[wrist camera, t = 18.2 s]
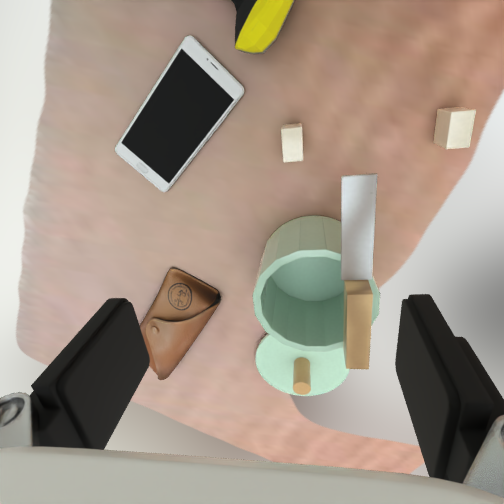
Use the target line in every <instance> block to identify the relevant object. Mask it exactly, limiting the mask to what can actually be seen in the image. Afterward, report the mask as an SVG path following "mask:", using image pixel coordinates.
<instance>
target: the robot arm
mask: <svg viewBox="0 0 504 504" xmlns="http://www.w3.org/2000/svg"><path fill="white" fill-rule="evenodd" d="M149 363H150V357H149V353H148V350H147V347H146V344H145V341H144V338H143V335H142V332H141V329H140V326H139V323H138V320H137V317H136V314H135V311H134V308H133V305H132V303H131V302H128V300H127V299H125V298H111V299H108V300H107V301H106V302H105V303H104V304H103V305H102V307H101V308H100V309H99V310H98V311H97V312H96V313H95V314H94V316H93V317H92V318H91V319H90V320H89V321H88V322H87V323H86V325H85V326H84V327H83V328H82V329H81V330H80V331H79V332H78V334H77V335H76V336H75V337H74V338H73V339H72V340H71V341H70V343H69V344H68V345H67V346H66V347H65V348H64V349H63V350H62V351H61V353H60V354H59V355H58V356H57V357H56V358H55V359H54V360H53V362H52V363H51V364H50V365H49V366H48V367H47V368H46V369H45V371H44V372H43V373H42V374H41V375H40V376H39V377H38V378H37V380H36V381H35V382H34V383H33V384H32V385H31V387H32V388H33V390H34V391H33V392H32V393H31V395H30V396H29V395H28V394H26V393H21V392H18V393H12V394H9V395H6V396H4V397H1V398H0V504H504V399H503V398H502V396H501V394H500V393H499V391H498V390H497V388H496V386H495V385H494V383H493V382H492V380H491V378H490V377H489V375H488V374H487V372H486V370H485V369H484V367H483V366H482V364H481V362H480V361H479V359H478V358H477V356H476V354H475V353H474V351H473V350H472V348H471V346H470V345H469V343H468V342H467V340H466V339H465V338H463V337H455V336H454V335H453V333H452V331H451V329H450V328H449V326H448V325H447V322H446V321H445V319H444V317H443V316H442V314H441V312H440V311H439V309H438V307H437V305H436V304H435V302H434V300H433V299H432V297H431V296H430V295H429V294H420V295H409V297H408V299H403V301H402V307H401V316H400V326H399V334H398V343H397V352H396V362H395V365H396V372H397V376H398V379H399V382H400V385H401V388H402V391H403V395H404V398H405V401H406V404H407V407H408V410H409V413H410V416H411V420H412V423H413V426H414V430H415V433H416V436H417V439H418V442H419V446H420V449H421V452H422V455H423V458H424V461H425V465H426V468H427V471H428V474H429V476H430V477H425V476H418V475H411V474H404V473H394V472H383V471H373V470H363V469H352V468H342V467H329V466H317V465H304V464H292V463H279V462H266V461H254V460H240V459H227V458H213V457H199V456H186V455H185V456H184V455H171V454H157V453H144V452H128V451H113V450H104V448H105V446H106V445H107V443H108V441H109V439H110V437H111V435H112V433H113V432H114V429H115V428H116V426H117V424H118V422H119V420H120V419H121V417H122V415H123V413H124V411H125V409H126V408H127V406H128V404H129V402H130V400H131V398H132V396H133V395H134V393H135V391H136V389H137V387H138V385H139V384H140V382H141V380H142V378H143V376H144V374H145V372H146V371H147V369H148V367H149Z"/></svg>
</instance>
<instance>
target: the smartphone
mask: <svg viewBox="0 0 504 504" xmlns="http://www.w3.org/2000/svg"><path fill="white" fill-rule="evenodd" d="M243 94H244V87H243V86H242V85H241V84H240V83H239V82H238V81H237V80H236V79H235V78H234V77H233V76H232V75H231V74H230V73H229V72H228V71H227V70H226V69H225V68H224V67H223V66H222V65H221V64H220V63H219V62H218V61H217V60H216V59H215V58H214V57H213V56H212V55H211V54H210V53H209V52H208V51H207V50H206V49H205V48H204V47H203V46H202V45H201V44H200V43H199V42H198V41H197V40H196V39H195V38H194V37H193V36H191V35H188V36H186V37H185V38H184V40H183V41H182V43H181V45H180V46H179V48H178V49H177V51H176V52H175V54H174V56H173V57H172V59H171V60H170V62H169V63H168V65H167V67H166V68H165V70H164V71H163V73H162V74H161V76H160V78H159V79H158V81H157V82H156V84H155V85H154V87H153V89H152V90H151V92H150V93H149V95H148V96H147V98H146V100H145V101H144V103H143V104H142V106H141V107H140V109H139V111H138V112H137V114H136V115H135V117H134V118H133V120H132V122H131V123H130V125H129V126H128V128H127V129H126V131H125V133H124V134H123V136H122V137H121V139H120V140H119V142H118V144H117V145H116V147H115V152H116V153H117V154H118V155H119V156H120V157H121V158H123V159H124V160H125V161H126V162H127V163H128V164H130V165H131V166H132V167H133V168H134V169H136V170H137V171H138V172H139V173H140V174H142V175H143V176H144V177H145V178H146V179H147V180H149V181H150V182H151V183H152V184H153V185H155V186H156V187H157V188H158V189H159V190H160V191H162V192H167V191H168V190H169V189H170V187H171V186H172V185H173V184H174V182H175V181H176V180H177V178H178V177H179V176H180V175H181V173H182V172H183V171H184V170H185V168H186V167H187V166H188V164H189V163H190V162H191V161H192V159H193V158H194V157H195V156H196V154H197V153H198V152H199V150H200V149H201V148H202V147H203V145H204V144H205V143H206V141H207V140H208V139H209V138H210V137H211V136H212V134H213V132H214V131H215V130H216V129H217V128H218V127H219V125H220V124H221V123H222V122H223V120H224V119H225V118H226V117H227V115H228V113H229V112H230V111H231V110H232V108H233V107H234V106H235V104H236V103H237V102H238V101H239V99H240V98H241V97H242V95H243Z"/></svg>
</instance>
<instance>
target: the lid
mask: <svg viewBox="0 0 504 504" xmlns="http://www.w3.org/2000/svg"><path fill="white" fill-rule="evenodd" d="M256 365H257V368H258V371H259V373H260V374H261V376H262V377H263V378H264V379H265V380H266V381H267V382H268V383H269V384H270V385H272V386H273V387H275V388H276V389H278V390H280V391H283V392H285V393H289V394H292V395H298V396H314V395H320V394H323V393H326V392H329V391H331V390H333V389H335V388H336V387H338V386H339V385H340V384H341V383H342V382H343V381H344V380H345V378H346V377H347V375H348V373H349V370H350V369H346V365H345V358H344V351H343V347H342V348H338V349H335V350H331V351H327V352H321V351H302V350H299V349H296V348H293V347H290V346H287V345H284V344H282V343H281V342H279V341H278V340H277V339H275V338H274V337H272V336H271V335H270V334H267V335H266V336H265V337H264V338H263V339H262V340H261V342H260V343H259V345H258V347H257V351H256Z"/></svg>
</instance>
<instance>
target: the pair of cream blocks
mask: <svg viewBox="0 0 504 504" xmlns="http://www.w3.org/2000/svg"><path fill="white" fill-rule="evenodd" d="M475 113H476V110H474V109H469V108H463V107H453V108H443V109H438V110H437V117H436V125H435V133H434V141H433V143H434V144H437V145H439V146H441V147H443V148H445V149H456V148H468V147H470V141H471V136H472V130H473V124H474V119H475ZM281 138H282V152H283V162H296V161H303V131H302V123H295V124H285V125H283V126H282V128H281Z"/></svg>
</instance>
